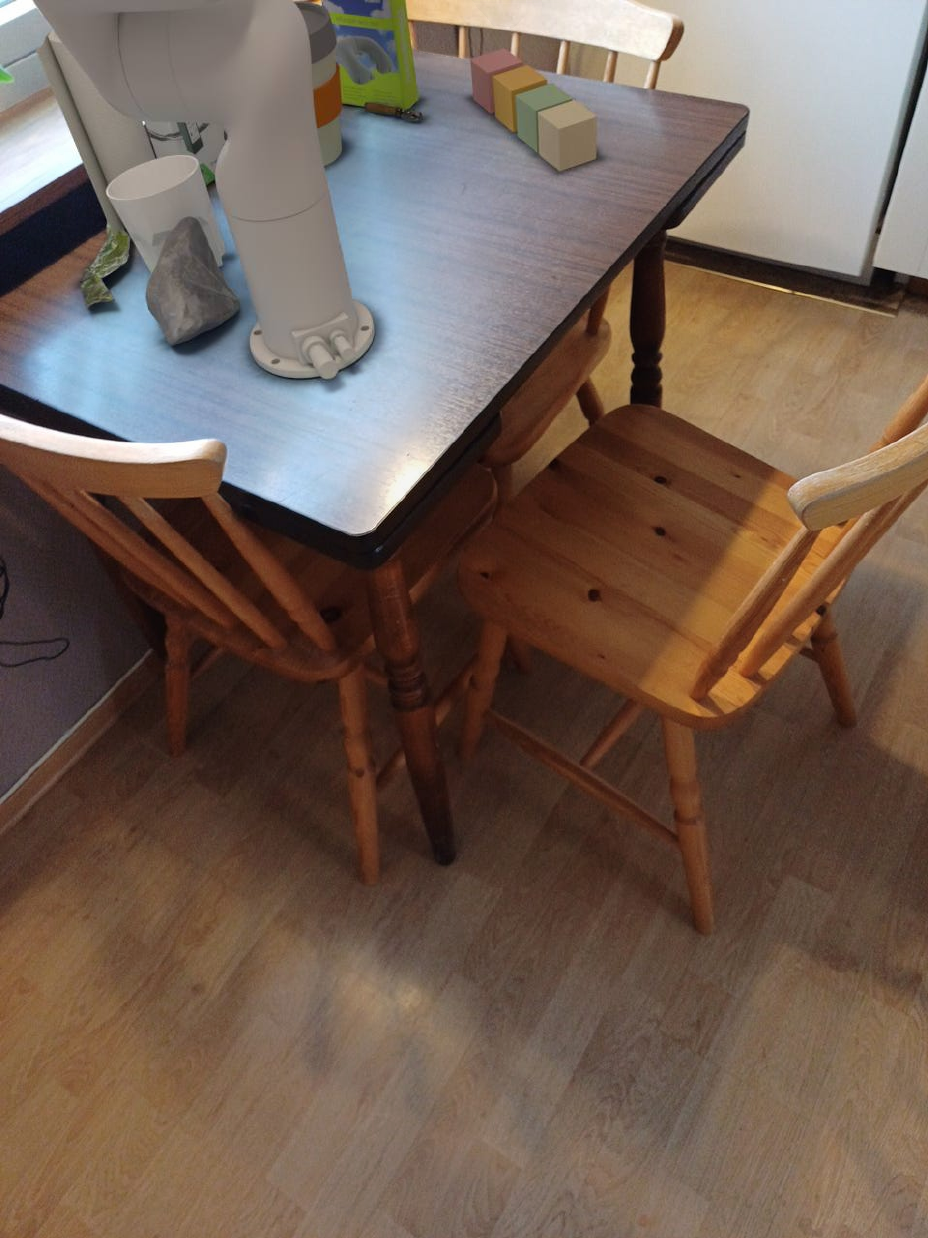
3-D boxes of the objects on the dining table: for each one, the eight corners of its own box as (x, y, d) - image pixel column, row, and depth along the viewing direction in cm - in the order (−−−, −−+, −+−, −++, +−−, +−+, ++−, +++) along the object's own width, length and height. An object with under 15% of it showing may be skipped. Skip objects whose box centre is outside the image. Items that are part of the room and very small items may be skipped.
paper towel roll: (175, 206, 114) (105, 9, 97) (179, 231, 111) (107, 32, 94) (116, 220, 114) (35, 24, 97) (118, 246, 110) (34, 47, 93)
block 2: (573, 140, 115) (572, 97, 111) (537, 152, 114) (535, 110, 110) (552, 124, 118) (552, 82, 114) (517, 136, 117) (515, 94, 113)
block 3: (596, 158, 112) (597, 115, 108) (559, 171, 111) (558, 128, 107) (575, 142, 115) (575, 99, 111) (539, 154, 114) (537, 111, 110)
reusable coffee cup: (261, 187, 116) (225, 55, 104) (255, 139, 123) (221, 11, 111) (362, 167, 116) (338, 34, 104) (350, 121, 124) (326, -8, 112)
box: (338, 104, 127) (309, -45, 113) (353, 90, 129) (327, -58, 116) (406, 114, 124) (385, -39, 110) (421, 100, 126) (402, -52, 112)
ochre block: (548, 120, 119) (547, 78, 115) (513, 132, 118) (511, 90, 114) (529, 105, 122) (527, 64, 118) (494, 117, 121) (492, 75, 117)
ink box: (193, 196, 116) (159, 95, 107) (165, 187, 118) (129, 88, 109) (240, 163, 120) (212, 63, 110) (212, 155, 122) (182, 56, 112)
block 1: (524, 102, 122) (522, 61, 119) (490, 113, 121) (487, 72, 118) (506, 88, 125) (504, 47, 121) (473, 99, 124) (469, 58, 120)
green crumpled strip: (113, 299, 100) (117, 321, 102) (169, 192, 117) (172, 212, 119) (52, 292, 100) (57, 314, 102) (117, 185, 116) (120, 205, 118)
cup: (251, 251, 105) (217, 160, 98) (182, 296, 101) (141, 205, 93) (198, 237, 110) (162, 150, 103) (131, 279, 106) (88, 192, 99)
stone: (192, 310, 106) (109, 281, 98) (241, 228, 101) (157, 191, 93) (231, 382, 101) (146, 357, 93) (284, 299, 95) (200, 266, 88)
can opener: (363, 112, 125) (362, 103, 124) (374, 104, 126) (373, 95, 125) (419, 125, 121) (418, 116, 120) (429, 117, 122) (428, 108, 121)
